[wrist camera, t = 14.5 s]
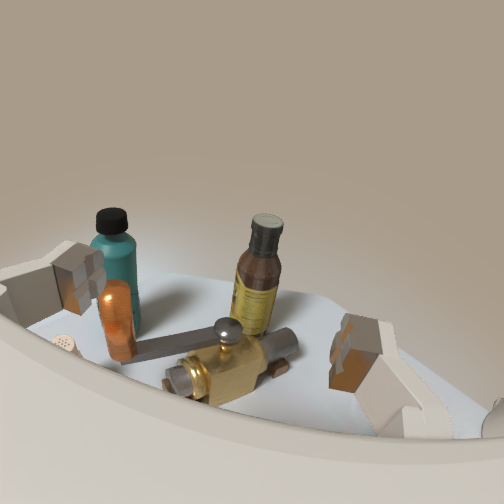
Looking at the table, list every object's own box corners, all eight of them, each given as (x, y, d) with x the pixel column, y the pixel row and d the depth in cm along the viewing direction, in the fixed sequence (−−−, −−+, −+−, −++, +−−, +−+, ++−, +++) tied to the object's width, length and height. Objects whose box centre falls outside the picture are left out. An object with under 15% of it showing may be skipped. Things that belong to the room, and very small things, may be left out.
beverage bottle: (126, 310, 50) (118, 197, 40) (151, 332, 47) (147, 213, 37) (94, 328, 45) (76, 210, 35) (118, 352, 42) (101, 229, 32)
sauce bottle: (238, 312, 54) (258, 204, 44) (271, 326, 53) (300, 218, 43) (220, 334, 49) (236, 218, 39) (256, 350, 47) (283, 235, 37)
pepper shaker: (99, 396, 35) (83, 350, 30) (73, 407, 32) (51, 362, 27) (87, 375, 37) (71, 327, 32) (62, 385, 34) (42, 337, 30)
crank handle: (233, 324, 38) (244, 259, 33) (245, 342, 35) (259, 277, 31) (108, 349, 31) (95, 280, 26) (113, 372, 28) (98, 303, 24)
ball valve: (271, 345, 49) (284, 299, 44) (294, 371, 45) (312, 326, 40) (161, 385, 39) (157, 338, 34) (180, 420, 35) (179, 377, 30)
